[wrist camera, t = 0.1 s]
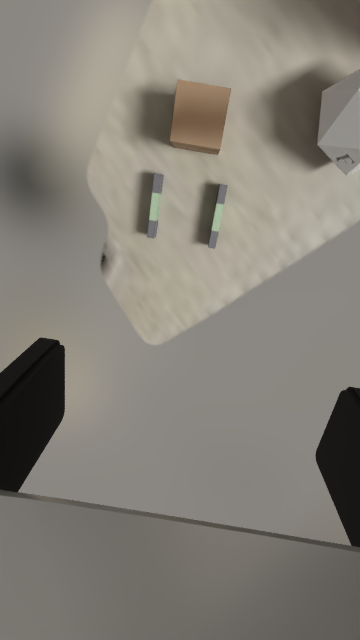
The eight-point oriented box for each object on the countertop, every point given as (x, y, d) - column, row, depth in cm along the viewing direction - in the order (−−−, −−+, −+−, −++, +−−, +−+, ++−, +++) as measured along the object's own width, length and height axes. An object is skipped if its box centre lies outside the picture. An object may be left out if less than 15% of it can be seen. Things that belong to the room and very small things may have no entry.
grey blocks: (156, 173, 36) (154, 173, 35) (226, 185, 36) (227, 185, 35) (149, 235, 39) (147, 237, 37) (214, 246, 39) (215, 248, 37)
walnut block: (181, 95, 33) (177, 79, 29) (227, 102, 33) (231, 88, 29) (174, 147, 35) (169, 140, 31) (217, 154, 35) (220, 149, 31)
